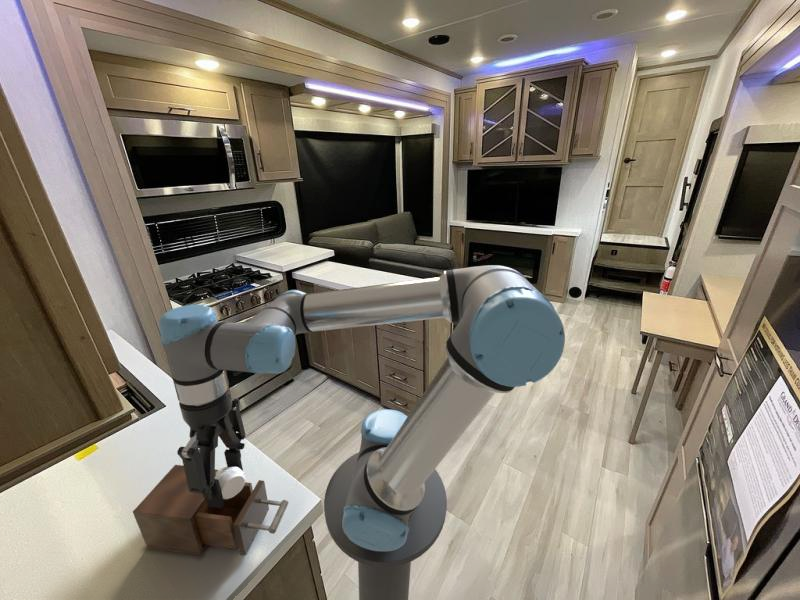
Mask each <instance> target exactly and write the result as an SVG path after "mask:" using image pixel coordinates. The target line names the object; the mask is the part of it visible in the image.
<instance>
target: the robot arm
mask: <svg viewBox="0 0 800 600" xmlns="http://www.w3.org/2000/svg"><path fill="white" fill-rule="evenodd" d="M438 319H444V320H445V321H447V322H448V323H449V324H454V323H457V325H456V326H455V328H454V329H453V330H452V333H451V334H450V335H449V337H448V339H447V340H446V342H445V344H444V346H445V351H446V355H447V358H446V359H445V361H444V362H443V364H442V365H441V366H440V368H439V370H438V372H437V373H436V374H435V375H434V377H433V379H432V380H431V381H430V383H429V384H428V385H427V388H426V389H425V390H424V391H423V393H422V394H421V396H420V397H419V399H418V401H417V403H415V405H414V407H413V408H412V410H411V411H410V412H409V414H408V415H406V414H405V413H403V412H402V411H399V410H397V409H390V408H389V409H377V410H375V411H373V412H370V413H369V414H368V415H366V416H365V417H364V419H363V420H362V422H361V427H360V435H361V439H360V440H361V441H360V447H359V450H358V452H359V455H358V459H357V463H356V466H355V470H354V474H353V478H352V482H351V486H350V490H349V494H348V498H347V501H346V505H345V507H344V515H343V520H342V527H343V531H344V533H345V534H346V535H347V536H348V538H349V539H350V540H351V541H352V542H354V543H355V544H357V545H359V546H361V547H363V548H366V549H369V550H373V551H384V552H385V551H393V550H396V549H398V548H400V547H402V546H403V545H404V543H405V542H406V539H407V533H408V532H409V528H408V520H409V517H410V515H411V514H412V512H413V511H414V510H415V509H416V508H417V506H418V505H419V504H420V502H421V501H422V499H423V497H424V493H425V483H424V482H425V481H426V480H427V478H428V477H429V476H430V475H431V473H432V472H433V471H434V470H436V469H437V467H438V466H439V465H440V463H441V462H442V461H443V459H445V457H446V456H447V455H448V453H449V452H450V451H451V450H452V448H453V447H454V446H455V445H456V443H457V442H458V441H459V439H461V437H462V436H463V434H464V433H465V432H466V431H467V429H468V428H469V427H470V425H471V424H472V423H473V422H474V421H475V419H476V418H477V417H478V415H479V414H480V413H481V412H482V411H483V410H484V408H485V407H486V405H487V404H488V403H489V402H490V400H491V399H492V398H493V396H494V395H495V394H508V393H511V392H512V391H513V390H514V389H515V388H517V387H518V388H520V387H526V386H527V383H533V384H535V383H537V382H539V381H541V380H542V379H544V378H545V377H547V376H548V375H549V374H550V373H551V372H552V371H553V370H554V369H555V368H556V366H557V365H558V363H559V362H560V360H561V358H562V355H563V353H564V349H565V345H566V344H565V343H566V334H565V328H564V325H563V321H562V319H561V317H560V315H559V314H558V312H557V311H556V309H555V307H554V306H553V304H552V303H551V301H550V300H549V299H548V297H546V296H545V295H543V293H541V292H540V291H539V289H537V288H536V287H535V286H534V285H533V284H531V282H530V281H529V280H528V279H527V278H526V277H525V276H524V275H523V274H522V273H521V272H519V271H517V270H516V269H514V268H511V267H509V266H504V265H497V264H496V265H495V264H494V265H493V264H491V265H490V264H488V265H479V266H469V267H463V268H455V269H447V270H443V271H442V272H441V274H440V275H439V276H438V277H436V276H435V277H429V278H421V279H414V280H406V281H397V282H389V283H382V284H375V285H374V284H373V285H367V286H366V285H365V286H360V287H352V288H343V289H336V290H327V291H320V292H312V293H306V292H304V291H301V290H298V289H290V290H287V291H285V292H282V293H281V294H279V295H278V296H276V297H275V298H274V299H273V300H272V301H271V302H270V303H269V304H268V305H266V306H265V307H264V308H262V310H260V311H259V312H258V313H256V314H255V315H254V316H253V317H251V318H250V319H249V320H247V321H246V322H229V321H219V320H218V316H217V315H216V313H215V310H214V308H212V307H211V306H208V305H206V304H186V305H182V306H178V307H174V308H172V309H170V310H168V311H166V312H164V313H163V314H162V315H161V316H160V317H159V319H158V328H159V335H160V340H161V341H160V344H161V346H162V347H163V351H164V353H165V358H166V361H167V364H168V367H169V371H170V374H171V378H172V382H173V385H174V389H175V393H176V397H177V401H178V402H179V403H178V405H179V409H180V413H181V416H182V419H183V422H185V424H186V425H187V426H188V428H189V440H188V442H187V444H186V445H185V446H180V447H179V448H178V449H177V452H176V454H177V455H178V456H179V458H180V459H181V460H182V466H184V470H185V475H186V479H187V484H188V488H189V492H193V493H201V494H203V498H204V499H207V503H208V506H210V507H217V508H222V507H223V506H224V500H223V496H222V492H221V488H220V484H219V480H218V479H215V469H216V449H217V448H218V447H219V439H220V440H221V442H222V443H223V444H224V446H225V447H226V449H225V450H224V452H223V455H224V458H225V463H226V467H238V468H240V469H241V470H242V471H243V472H244V468H243V463H242V454H241V450H244V449H245V445H246V444H245V443H244V442H242V441H243V440H244V441H245V439H246V430H245V427H244V422H243V419H242V414H241V410H240V406H241V405H240V404H241V403H240V402H241V401H240V399H239V398H234V397H233V398H232V396H231V395H232V394H231V388H230V382H229V378H228V373H227V371H233V372H243V373H253V374H257V375H260V374H261V375H263V374H282V373H284V372H286V371H287V370H288V369H289V368H290V367H291V364H292V363H293V358H294V357H295V354H296V348H297V347H296V346H297V343H296V336H297V335H299V334H307V333H314V332H321V331H323V332H324V331H331V330H342V329H352V328H361V327H370V326H379V325H381V326H382V325H389V324H398V323H400V324H401V323H408V322H409V323H410V322H417V321H418V322H419V321H428V320H438Z"/></svg>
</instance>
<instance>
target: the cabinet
mask: <svg viewBox="0 0 800 600" xmlns="http://www.w3.org/2000/svg"><path fill="white" fill-rule="evenodd" d="M218 470H219V469H216V468H215V476H216V472H217V471H218ZM206 500H207V499H204V498H203V494H201V493H193V492H189V488H188V484H187V479H186V475H185V470H184V465H183V464H174V465H173V467H172V468H170V469H169V471H168V472H167V473H166V474H165V475H164V476H163V477H162V479H161V480H160V481H159V482H158V483H157V484H156V485H155V487H153V488H152V490H151V491H149V493H148V494H147V495H146V496H145V498H143V500H142V501H141V502H140V503H139V504H138V505H137V506H136V507H135V509H133V510H132V513H133V516H134V519H135V521H136V524H137V526H138V529H139V531H140V534H141V536H142V538H143V541H144V544H145V547H146V548H148V549H153V550H159V551H167V552H174V553H182V554H188V555H195V556H202V555H203V553H204V552H205V550H206V549H207V547H208V545H205V544H201V540H200V537H199V534H198V530H197V527H196V524H195V521H194V517H195V516H196V514H197V513H198V511H199V510H200V509H201V507H202V506H203V504H204V503H205V501H206Z"/></svg>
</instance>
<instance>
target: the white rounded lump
mask: <svg viewBox="0 0 800 600" xmlns="http://www.w3.org/2000/svg"><path fill="white" fill-rule="evenodd" d="M217 470H218V471H217V472H216V476H215V479H218V480H219V484H220V488H221V492H222V496H223V499H229V498H232V497H234V496H235V495H237V494H238V493H239V492H240V491H241V490H242V489H243V487H244V484H245V482H247V481H246V479H247V478H246V473H245V472H244V470H243V471H242V470H241V469H240V468H238V467H227V466H223V467H220V468H219V469H217Z"/></svg>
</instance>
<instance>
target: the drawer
mask: <svg viewBox="0 0 800 600" xmlns="http://www.w3.org/2000/svg"><path fill="white" fill-rule="evenodd" d="M223 500H224V506H223V507H222V508H217V507H210V506H208V503H207V500H206V501H205V503H204V504H203V506H202V507H201V509H200V510H199V511H198V513H197V514H196V516H195V517H194V521H195V524H196V527H197V530H198V534H199V537H200V540H201V544H205V545H207V546H213V547H220V548H227V549H232V550H233V549H234V550H235V549H237V547H238V551H239V555H240V556H247V555H248V552H249V550H250V548H251V546H252V544H253V542H254V540H255V537H256V536H257V534H258V532H259V530H260V531H267V532H268V533H269V534H273V535H274V534H276V531H277V530H278V528H279V525H280V523H281V521H282V519H283V516H284V515H285V512H286V511H287V507H288V506H289V501H288V500H287V499H282V500H280V501H279V500H271V499H268V495H267V489H266V484H265V480H262V479H259V480H257V482H256V484H255V486H254V488H253V484H252V482H247V481H245V484H244V487H243V489H242V490H241V491H240V492H239V493H238V494H237V495H235V496H234V497H232V498H229V499H223ZM270 505H271V506H278V509H277V511H276V512H275V513H276V514H275V515H274V518H273V519H272V521H271V523H270V525H265V524H263V522H264V520H265V518H266V516H267V514H268V512H269V510H270V507H269V506H270Z"/></svg>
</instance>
